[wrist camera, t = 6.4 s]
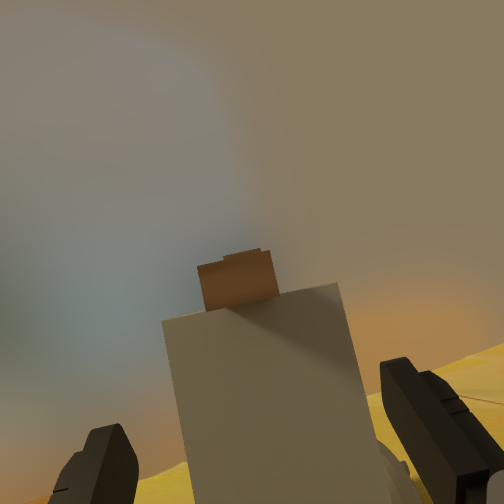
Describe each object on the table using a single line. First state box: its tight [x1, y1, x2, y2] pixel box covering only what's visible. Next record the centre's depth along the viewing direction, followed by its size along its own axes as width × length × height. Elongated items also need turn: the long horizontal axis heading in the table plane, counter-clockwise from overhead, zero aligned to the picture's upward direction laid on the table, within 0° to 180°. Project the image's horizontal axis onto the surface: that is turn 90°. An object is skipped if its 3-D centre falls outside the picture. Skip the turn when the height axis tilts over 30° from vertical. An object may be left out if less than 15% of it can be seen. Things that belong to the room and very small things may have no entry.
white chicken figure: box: [377, 440, 423, 504], centre depth 50 cm, size 14×14×15 cm
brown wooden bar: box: [197, 248, 280, 312], centre depth 30 cm, size 21×4×5 cm, turn 178°
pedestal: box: [162, 282, 393, 504], centre depth 32 cm, size 14×15×34 cm
